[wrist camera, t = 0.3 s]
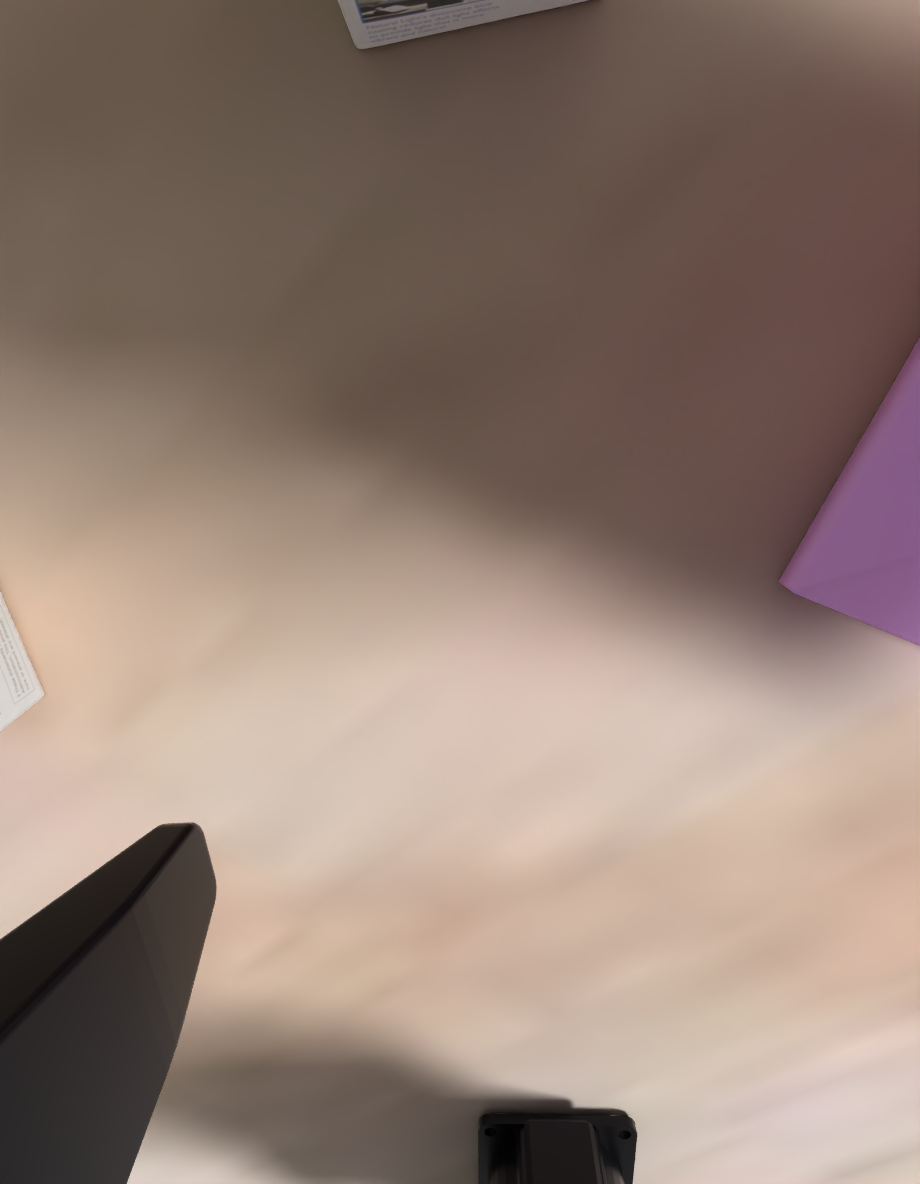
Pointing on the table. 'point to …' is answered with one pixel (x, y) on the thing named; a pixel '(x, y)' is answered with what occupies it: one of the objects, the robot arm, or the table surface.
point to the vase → (872, 522)
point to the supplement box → (14, 672)
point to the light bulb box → (428, 16)
